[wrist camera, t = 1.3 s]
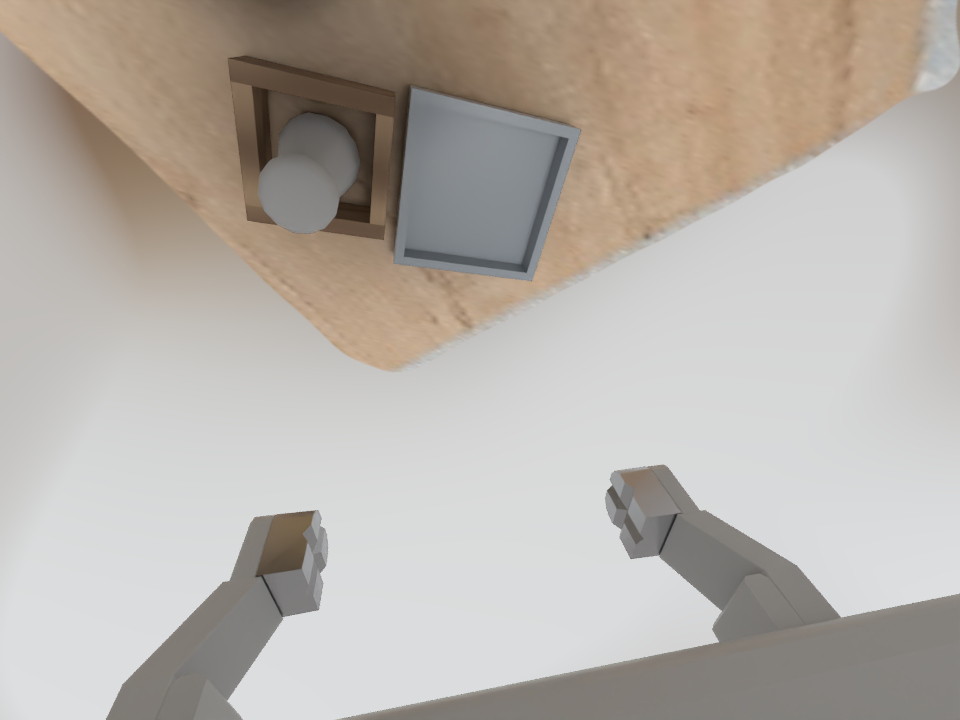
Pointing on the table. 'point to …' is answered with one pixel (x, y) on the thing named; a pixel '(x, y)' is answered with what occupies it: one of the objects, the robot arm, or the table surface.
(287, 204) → the salt shaker
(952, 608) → the robot arm
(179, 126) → the table surface
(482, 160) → the tray
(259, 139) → the socket block
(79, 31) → the table surface
